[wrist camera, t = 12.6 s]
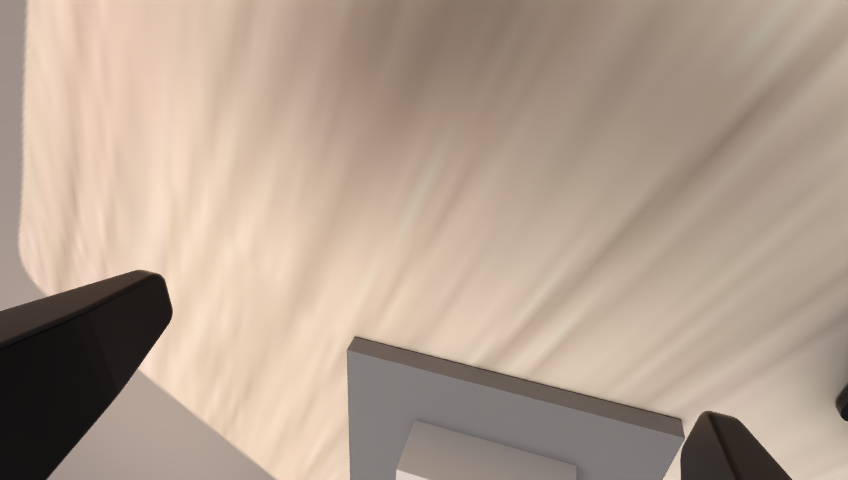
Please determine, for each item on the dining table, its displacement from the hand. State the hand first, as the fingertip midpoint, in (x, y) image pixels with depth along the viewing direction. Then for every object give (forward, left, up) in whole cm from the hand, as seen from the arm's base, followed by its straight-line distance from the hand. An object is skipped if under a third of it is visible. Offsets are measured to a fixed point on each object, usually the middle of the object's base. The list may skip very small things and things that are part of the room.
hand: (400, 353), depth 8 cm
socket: (-2, +20, -12) cm, 23 cm away
